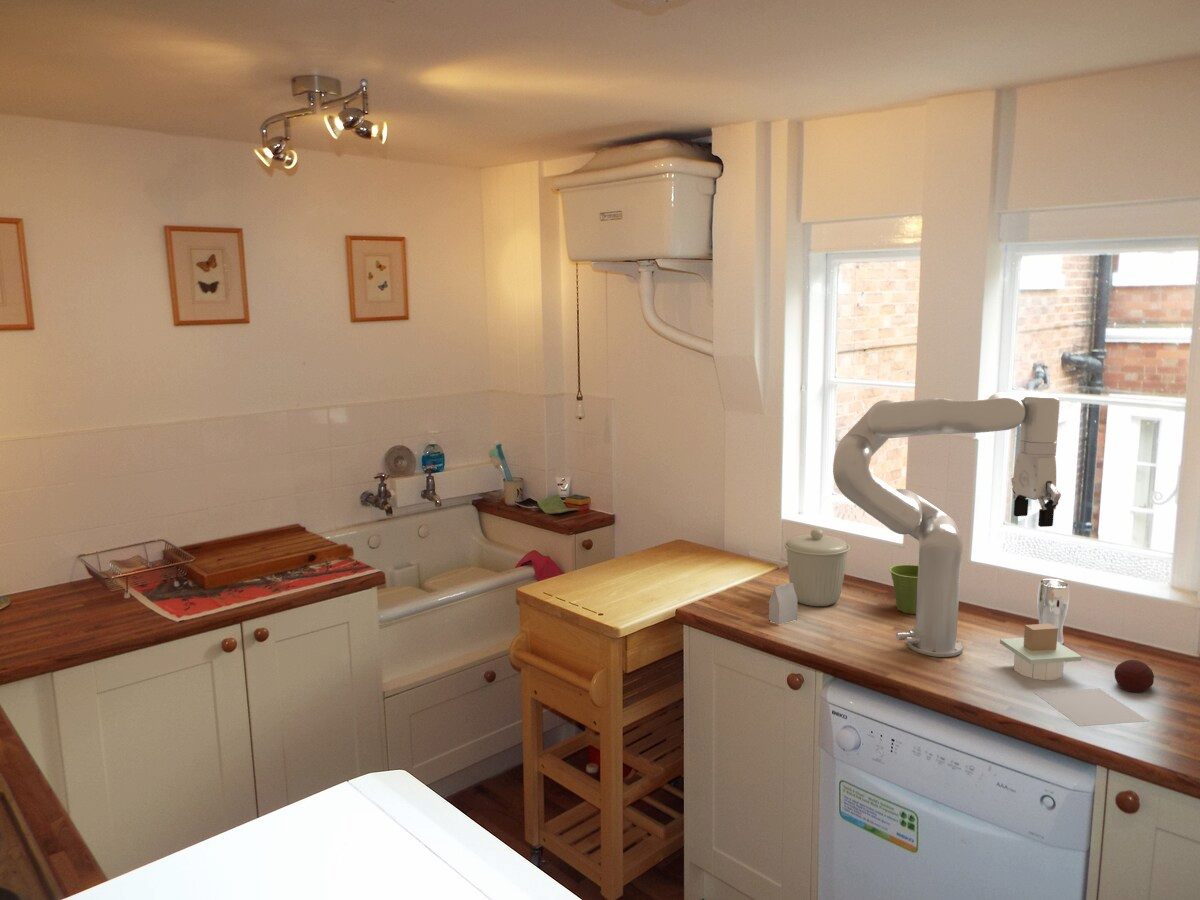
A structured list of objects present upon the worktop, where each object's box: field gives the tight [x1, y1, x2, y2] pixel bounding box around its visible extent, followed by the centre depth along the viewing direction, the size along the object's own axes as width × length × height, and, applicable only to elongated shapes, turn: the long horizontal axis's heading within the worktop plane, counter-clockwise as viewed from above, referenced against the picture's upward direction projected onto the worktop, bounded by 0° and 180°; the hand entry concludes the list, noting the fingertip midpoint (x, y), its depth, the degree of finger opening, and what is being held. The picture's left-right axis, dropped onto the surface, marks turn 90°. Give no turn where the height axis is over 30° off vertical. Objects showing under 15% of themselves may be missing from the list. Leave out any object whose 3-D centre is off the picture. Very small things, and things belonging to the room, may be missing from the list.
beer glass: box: [1036, 578, 1070, 645], centre depth 218 cm, size 7×7×15 cm
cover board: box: [999, 623, 1083, 664], centre depth 199 cm, size 12×12×6 cm
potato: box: [1114, 659, 1155, 693], centre depth 192 cm, size 7×10×6 cm
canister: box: [783, 528, 851, 607], centre depth 248 cm, size 18×18×21 cm
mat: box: [1034, 688, 1149, 727], centre depth 183 cm, size 15×15×1 cm
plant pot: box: [888, 564, 918, 615], centre depth 241 cm, size 12×12×11 cm
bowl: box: [1013, 653, 1065, 681], centre depth 200 cm, size 10×10×5 cm
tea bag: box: [768, 582, 798, 624], centre depth 234 cm, size 4×7×10 cm, turn 124°
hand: (1032, 520), depth 204 cm, fingers open, 9 cm apart
